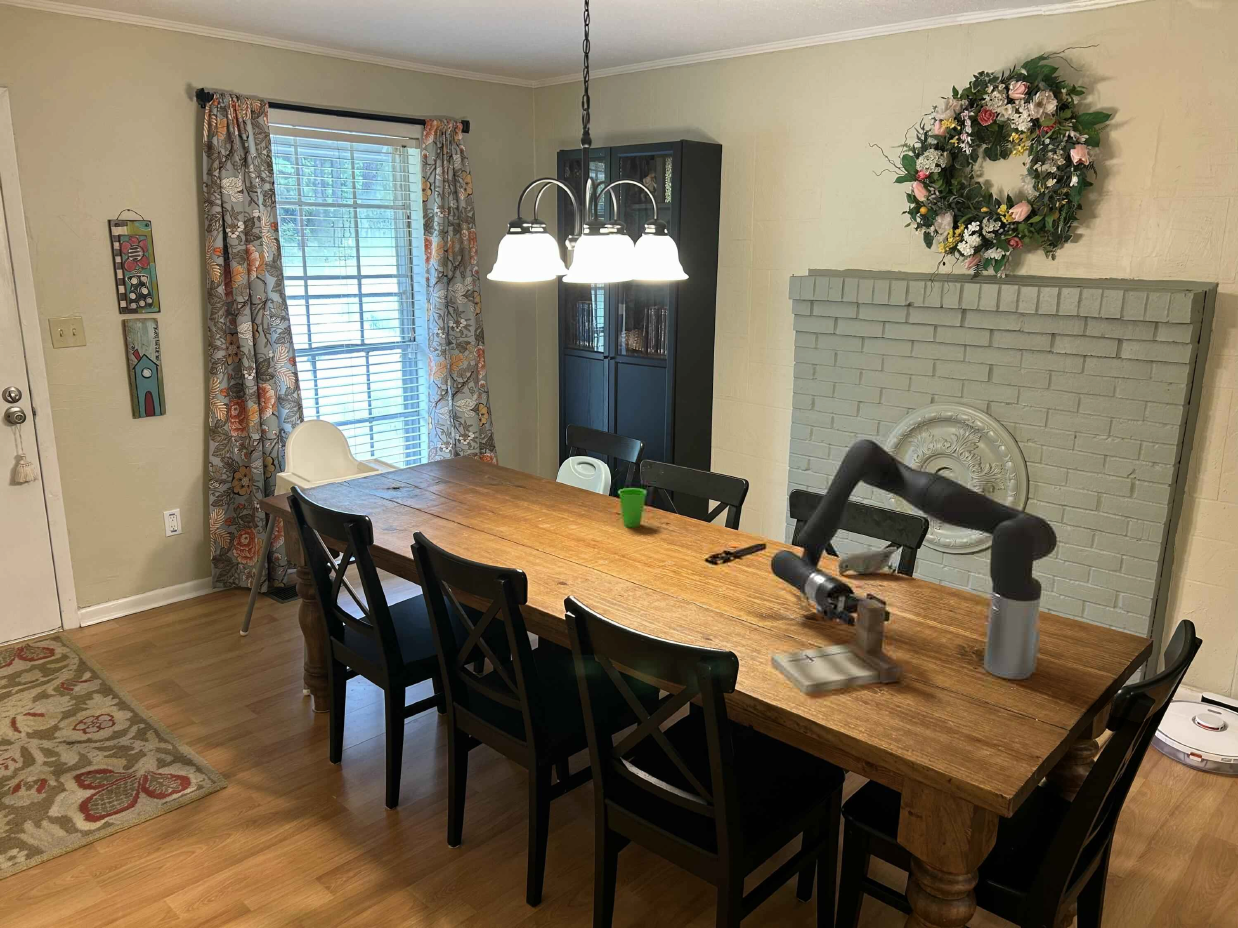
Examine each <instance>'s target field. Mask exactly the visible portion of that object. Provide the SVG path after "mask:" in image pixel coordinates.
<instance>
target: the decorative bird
mask: <svg viewBox="0 0 1238 928" xmlns="http://www.w3.org/2000/svg"><path fill="white" fill-rule="evenodd" d="M897 551H898V549H897V546H894V547H892V546H891V547H885V548H883V549H879V550H865V551H862V552H858V553H848V554H845V555H843V556H842V557H841V559H840V561H839V563H838V573H839V576H842V575H843V574H846V573H847V572H850V571H852V572H854V573H855V574H859V575H860V574H862V575H865V574H870V573H876V572H879V571H882V570H884V569H885V568H886V567H887V570H888V572H889V571H890V572H891V573H892V574H894V573H895V574H896V572H897V567H898V566H899V565H895V567H894V568H892V567H893V563H894V561H892V562H891V563H890V561H891V557H892V554H894V553H896V552H897ZM889 563H890V565H889ZM891 570H892V571H891Z"/></svg>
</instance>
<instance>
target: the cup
mask: <svg viewBox="0 0 1238 928" xmlns="http://www.w3.org/2000/svg"><path fill="white" fill-rule="evenodd" d="M617 493H618V494H619V501H620V509H621V516H622V521H623V523H622V524H623V525H624V527H626V528H638V527H640V525H641V523H642V522H641V521H642V517H643V510H644V505H645V499H646V495H647V493H648V492H647V490H646V489H643V488H637V487H629V488H622V489H619V490H618V491H617Z"/></svg>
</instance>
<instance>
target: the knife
mask: <svg viewBox="0 0 1238 928" xmlns="http://www.w3.org/2000/svg"><path fill="white" fill-rule="evenodd" d="M766 545H767V543H765V542H764V543H762V542H761V543H755V544H753V545H750V546H746V547H743V548H741V549H737V550H733V551H731V550H727V549H723V550H722V552H719V553H718V552H717V553H714V554H710V555H709V556H708V557H706V558H704V562H705V563H708V564H710V565H718V562H720V561H722V564H724V563H728V562H731V559H732V558H733V559H739V560H741V559H742V556H744V555H748V554H750V553H753V552H756V551H759V550H762V549H765V548H766ZM716 558H717V559H716Z"/></svg>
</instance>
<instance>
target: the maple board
mask: <svg viewBox="0 0 1238 928" xmlns="http://www.w3.org/2000/svg"><path fill="white" fill-rule="evenodd" d="M852 644H855V642H852V643H846V644H839V645H834V646H833V645H832V646H825V647H819V648H813V649H805V650H799V651H793V652H786V653H780V654H773V655H771V657H770V665H771V666H772V667H773V668H775V670H777V671H778V672H779V673H780V674H781V675H782V676H783V677H785V678H786V679H787V680H788V681H789V682H791V683H792V684H793V685H794V686H795V687H796V688H797V689H798V690H800V692H801V693H803V694H804V695H809V694H815V693H821V692H822V693H823V692H828V691H832V690H833V691H834V690H838V689H844V688H850V687H855V686H856V687H857V686H862V685H868V684H873V683H879V682H880V683H881V682H882V681H880V680H879V679H880V671H878V670H877V669H876V668H874V667H873V666H872V665H870V664H869V663H867V662H866V661H865V660H863V659H862V658H861V657H859V656H858V655H856V654H855V653H854V652H852V651H851V649H852Z"/></svg>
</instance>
